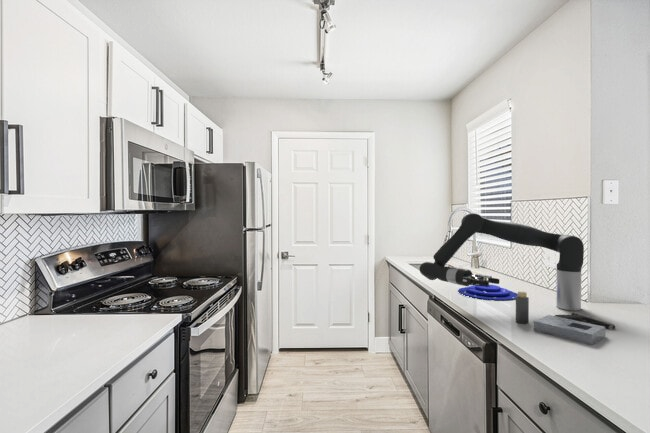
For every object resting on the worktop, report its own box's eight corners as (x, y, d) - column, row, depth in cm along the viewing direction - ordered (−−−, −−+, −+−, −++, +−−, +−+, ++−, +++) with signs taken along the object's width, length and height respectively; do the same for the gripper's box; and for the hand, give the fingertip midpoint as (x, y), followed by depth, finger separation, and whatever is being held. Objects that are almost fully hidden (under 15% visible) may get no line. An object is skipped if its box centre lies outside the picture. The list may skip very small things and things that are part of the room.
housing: (548, 323, 138) (548, 314, 138) (605, 336, 123) (605, 326, 123) (533, 330, 130) (533, 320, 130) (592, 345, 116) (592, 334, 116)
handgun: (591, 327, 129) (617, 323, 132) (553, 314, 145) (576, 311, 148) (591, 333, 129) (617, 330, 132) (553, 320, 145) (576, 317, 148)
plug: (518, 319, 143) (518, 290, 143) (530, 322, 139) (530, 292, 139) (513, 322, 140) (513, 292, 140) (525, 324, 136) (525, 294, 136)
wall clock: (533, 288, 179) (485, 292, 170) (533, 299, 179) (485, 303, 170) (489, 278, 207) (446, 281, 198) (489, 287, 207) (446, 290, 198)
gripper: (450, 269, 157) (485, 275, 144) (468, 267, 166) (502, 272, 153) (449, 286, 157) (484, 293, 144) (467, 282, 166) (502, 289, 153)
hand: (493, 282), depth 148 cm, fingers open, 8 cm apart
